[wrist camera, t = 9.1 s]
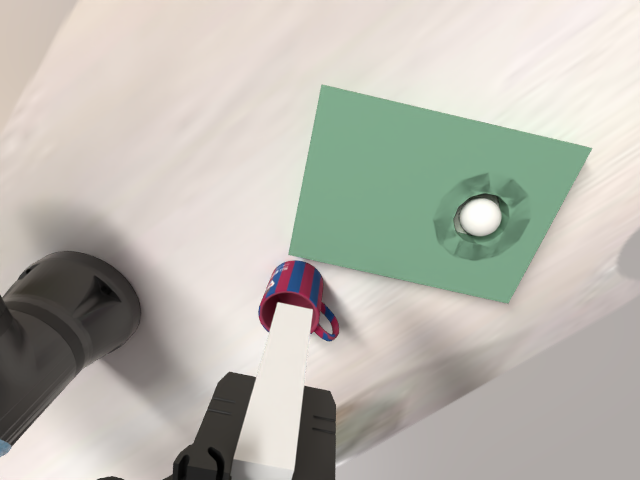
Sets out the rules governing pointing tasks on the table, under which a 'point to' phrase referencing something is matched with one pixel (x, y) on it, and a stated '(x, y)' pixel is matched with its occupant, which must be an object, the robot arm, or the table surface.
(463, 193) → the green
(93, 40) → the table surface
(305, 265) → the mug
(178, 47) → the table surface
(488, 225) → the ball
